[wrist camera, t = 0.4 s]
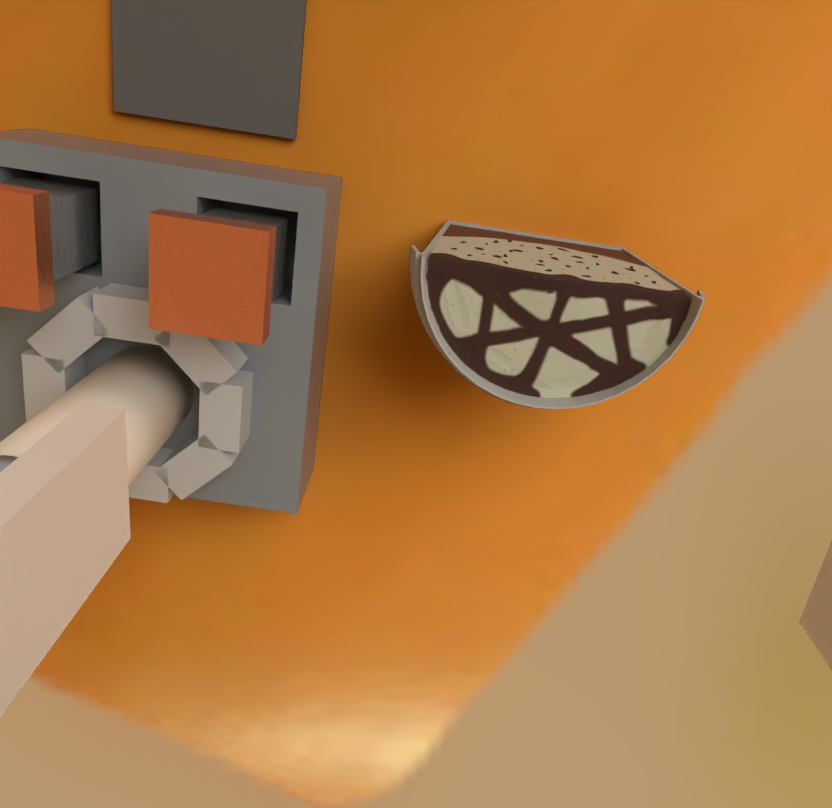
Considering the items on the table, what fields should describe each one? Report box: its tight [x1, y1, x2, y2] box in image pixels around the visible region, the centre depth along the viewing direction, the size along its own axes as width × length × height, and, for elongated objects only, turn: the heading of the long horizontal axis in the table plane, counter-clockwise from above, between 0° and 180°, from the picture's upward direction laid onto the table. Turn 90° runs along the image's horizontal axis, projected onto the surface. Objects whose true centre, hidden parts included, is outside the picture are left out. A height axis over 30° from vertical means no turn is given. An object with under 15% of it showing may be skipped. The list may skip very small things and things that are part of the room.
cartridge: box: [0, 345, 194, 487], centre depth 30 cm, size 5×5×14 cm
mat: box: [112, 0, 307, 139], centre depth 35 cm, size 9×9×1 cm
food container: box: [410, 220, 706, 409], centre depth 34 cm, size 12×6×10 cm, turn 82°
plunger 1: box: [0, 177, 99, 312], centre depth 32 cm, size 5×5×7 cm
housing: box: [0, 129, 343, 514], centre depth 37 cm, size 17×16×7 cm
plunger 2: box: [149, 207, 289, 346], centre depth 32 cm, size 5×5×7 cm
